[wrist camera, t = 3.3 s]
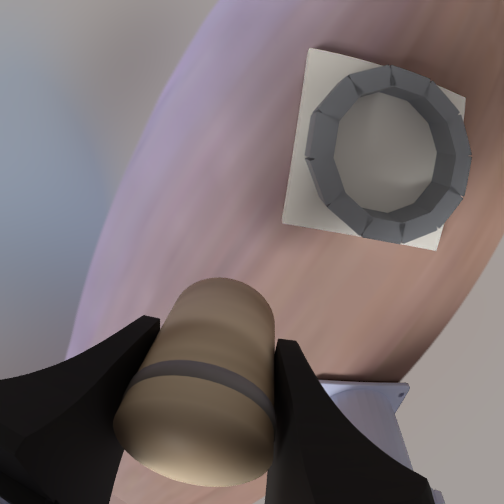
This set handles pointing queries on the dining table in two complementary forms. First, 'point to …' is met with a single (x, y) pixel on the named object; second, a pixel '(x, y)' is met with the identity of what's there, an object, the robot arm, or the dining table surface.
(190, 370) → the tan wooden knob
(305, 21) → the dining table surface
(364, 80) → the collar stand
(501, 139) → the dining table surface
